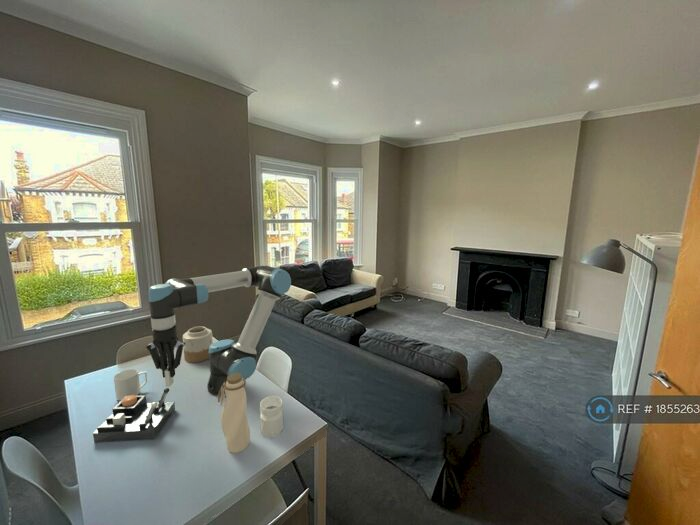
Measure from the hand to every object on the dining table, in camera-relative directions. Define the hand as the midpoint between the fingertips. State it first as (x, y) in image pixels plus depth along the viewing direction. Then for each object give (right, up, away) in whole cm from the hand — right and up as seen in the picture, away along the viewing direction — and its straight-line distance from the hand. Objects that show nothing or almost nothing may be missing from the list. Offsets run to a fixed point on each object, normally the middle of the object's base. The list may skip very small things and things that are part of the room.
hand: (169, 384), depth 109 cm
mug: (-33, -16, +25) cm, 44 cm away
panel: (-17, -19, +6) cm, 26 cm away
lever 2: (-11, -13, +10) cm, 20 cm away
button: (-22, -13, +9) cm, 28 cm away
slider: (-20, -16, +1) cm, 25 cm away
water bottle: (+26, -22, -2) cm, 34 cm away
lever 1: (-10, -15, +2) cm, 18 cm away
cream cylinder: (+37, -21, +6) cm, 43 cm away
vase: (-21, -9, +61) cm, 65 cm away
